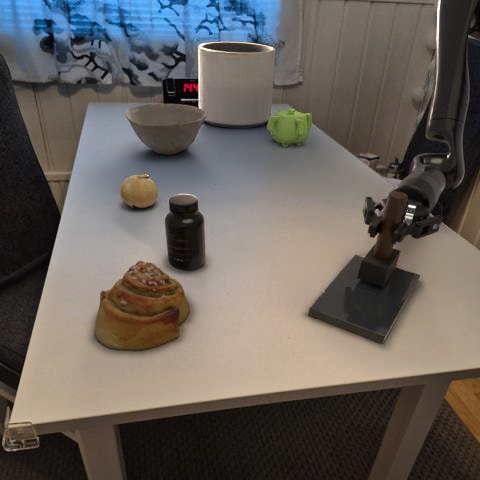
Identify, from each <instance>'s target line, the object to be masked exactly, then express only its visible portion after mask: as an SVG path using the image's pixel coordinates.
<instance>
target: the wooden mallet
mask: <svg viewBox="0 0 480 480" xmlns="http://www.w3.org/2000/svg"><path fill="white" fill-rule="evenodd" d="M387 197H388V199H387V203H386V206H385V210H384V214H383V218H382V222H381V226H380V229H379V233H378V234H377V238H376V240H375V243H374V245H373V246H372V247H371V248H370V250H369V251H368V252H367V253H366V254H365V255H364V256H363V257H364V258H363V259H362V261H361V265H360V269H359V273H358V277H357V278H359V279H361V280H364V281H367V282H370V283H373V284H376V285H379V286H382V287H383V286H384V284H385V283H386V281H387V280H388V278H389V277H390V276H391V274H392V273H393V271H394V270H395V268H397V265H398V263H399V258H400V256H401V251H402V250H400V249H397V248H394V246H395V244H392V243H391V239H392V236H393V233H394V231H395V229H396V228H397V227H398V225H399V224H400V222H401V219H402V215H403V212H404V208H405V205H406V202H407V198H408V195H407V194H405V193H403V192H398V191H393V190H392V191H390V192H388V195H387Z"/></svg>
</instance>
